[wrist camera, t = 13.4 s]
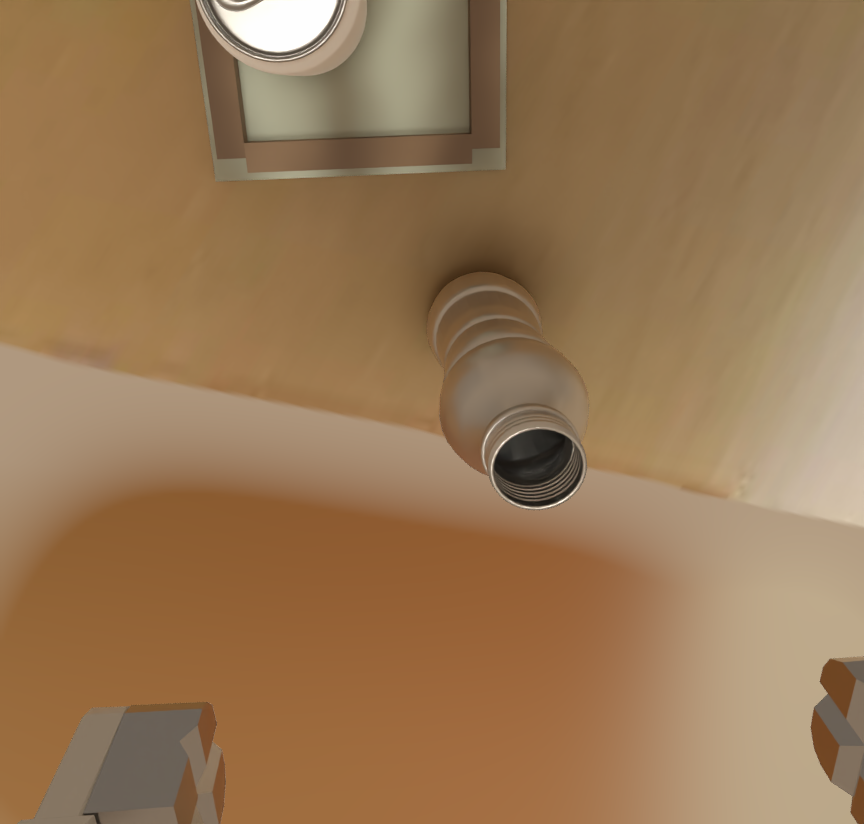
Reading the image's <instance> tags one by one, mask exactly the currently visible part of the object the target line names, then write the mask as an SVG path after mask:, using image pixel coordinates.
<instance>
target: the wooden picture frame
mask: <svg viewBox="0 0 864 824" xmlns="http://www.w3.org/2000/svg"><path fill="white" fill-rule="evenodd" d="M190 5H191V12H192V19H193V26H194V33H195V40H196V47H197V54H198V61H199V68H200V75H201V82H202V89H203V96H204V103H205V110H206V117H207V124H208V131H209V138H210V145H211V151H212V158H213V165H214V172H215V179H216V181H240V180H264V179H288V178H312V177H336V176H360V175H384V174H407V173H431V172H455V171H479V170H503V169H506V36H507V0H367V17H366V23H365V28H364V31H363V34H362V37H361V39H360V41H359V43H358V45H357V47H356V48H355V50H354V51H353V53H352V54H351V55H350V56H349V57H348V58H347V59H346V60H345V61H344V62H343V63H342V64H341V65H339V66H338V67H336V68H334V69H332V70H330V71H328V72H325V73H322V74H318V75H312V76H289V75H278V74H271V73H267V72H263V71H260V70H257V69H255V68H252V67H250V66H248V65H246V64H244V63H243V62H241V61H239V60H238V59H236V58H235V57H234V56H233V55H231V54H230V53H229V52H228V51H227V50H226V49H225V48H224V47H223V46H222V45H221V44H220V43H219V42H218V41H217V40H216V38H215V37H214V36H213V34H212V33H211V32H210V30H209V29H208V27H207V25H206V23H205V22H204V20H203V18H202V15H201V13H200V11H199V8H198V5H197V2H196V0H190Z"/></svg>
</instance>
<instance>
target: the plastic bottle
mask: <svg viewBox="0 0 864 824" xmlns="http://www.w3.org/2000/svg"><path fill="white" fill-rule="evenodd" d="M542 333H543V331H542V323H541V317H540V313H539V310H538V307H537V304H536V303H535V301H534V299H533V298H532V296H531V295H530V294H529V293H528V292H527V291H526V289H525V288H524V287H522V286H521V285H519V284H518V283H517V282H515V281H513V280H511V279H509V278H507V277H504V276H502V275H500V274H496V273H491V272H474V273H468V274H466V275H463V276H460V277H458V278H456V279H454V280H453V281H451V282H450V283H448V284H447V285H446V286H445V287H444V288H443V289H442V290H441V291H440V293H439V294H438V295H437V297H436V298H435V300H434V302H433V304H432V307H431V309H430V311H429V315H428V319H427V337H428V342H429V345H430V347H431V349H432V352H433V354H434V355H435V357H436V359H437V360H438V362H439V363H440V365H441V366H442V367H443V368H444V381H443V386H442V390H441V394H440V415H439V417H440V422H441V427H442V431H443V433H444V435H445V438H446V440H447V442H448V443H449V444H450V446H451V447H452V449H453V450H454V451H455V453H456V454H457V455H458V456H459V457H460V458H461V459H463V460H464V461H465V462H466V463H467V464H468V465H469V466H470V467H472V468H473V469H475V470H477V471H478V472H480V473H482V474H485V475H487V476H489V478H490V481H491V483H492V486H493V487H494V489H495V490H496V491H497V493H498V494H499V495H500V496H501V497H502V498H503V499H504V500H505V501H507V502H508V503H510V504H512V505H514V506H516V507H519V508H522V509H528V510H543V509H549V508H552V507H555V506H558V505H560V504H561V503H564V502H565V501H567V500H568V499H569V498H571V497H572V496H573V495H574V494H575V493H576V492H577V491H578V490H579V488H580V486H581V485H582V483H583V481H584V478H585V475H586V470H587V461H586V454H585V451H584V449H583V446H582V445H581V442H582V440H583V438H584V435H585V432H586V429H587V423H588V414H589V398H588V392H587V389H586V386H585V383H584V380H583V379H582V377H581V376H580V374H579V372H578V371H577V369H576V368H575V367H574V366H573V365H572V364H571V362H570V361H569V360H568V359H567V358H566V357H565V356H564V355H563V354H562V353H560V352H559V351H558V350H556V349H555V348H554V347H553V346H551V345H550V344H549V343H547V341H546V340H545V339H544V338H543V336H542Z"/></svg>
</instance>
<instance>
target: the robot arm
mask: <svg viewBox="0 0 864 824" xmlns="http://www.w3.org/2000/svg"><path fill="white" fill-rule="evenodd" d="M820 683H821V684H822V686H823V687H824V689H825V690H826V691H827V693H828V694H827V695H826V696H825V697H824V698H823V699H822V700H821V701H820V702H819V703H818V704H817V705H816V706H815V707H814V710H813V716H812V722H811V732H812V739H813V745H814V749H815V752H816V754H817V757H818V759H819V762H820V764H821V766H822V768H823V769H824V771H825V773H826V774H827V776H828V778H829V779H830V781H831V782H832V783H833V784H835V785H837V786H838V787H839V788H841V789H843V790H844V791H845V792H847V793H848V794H850V795H851V796H852V804H851V814H852V816H853V817H854V818H855V820H856V822H857V823H858V824H864V656H858V657H846V658H833V659H829V661H828V662H827V663H826V664H825V665H824V667H823V670H822V674H821V678H820ZM216 726H217V722H216V718H215V714H214V710H213V706H212V704H210V703H208V702H197V703H173V704H151V705H132V706H128V707H101V708H91V709H90V710H89V711H88V712H87V713H86V714H85V715H84V716H83V717H82V719H81V721H80V723H79V725H78V727H77V729H76V732H75V734H74V736H73V738H72V740H71V742H70V744H69V746H68V748H67V751H66V752H65V755H64V757H63V759H62V761H61V763H60V765H59V767H58V769H57V771H56V774H55V775H54V778H53V780H52V782H51V784H50V786H49V788H48V790H47V793H46V794H45V797H44V798H43V800H42V803H41V805H40V807H39V809H38V811H37V813H36V815H35V817H34V819H30V820H21V821H20V822H18V823H17V824H220V823H221V818H222V813H223V808H224V798H225V785H226V779H225V763H224V758H223V752H222V749H221V748H219V747H218V746H217V745H216V744H215V743H213V742H212V741H213V737H214V733H215V729H216Z"/></svg>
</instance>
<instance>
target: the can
mask: <svg viewBox="0 0 864 824" xmlns="http://www.w3.org/2000/svg"><path fill="white" fill-rule="evenodd" d="M196 2H197V5H198V8H199V11H200V13H201V15H202V18H203V20H204V22H205V23H206V25H207V27H208V29H209V30H210V32H211V33H212V34H213V36H214V37H215V38H216V40H217V41H218V42H219V43H220V44H221V45H222V46H223V47H224V48H225V49H226V50H227V51H228V52H229V53H230V54H231V55H233V56H234V57H235V58H236V59H238V60H239V61H241V62H243V63H244V64H246V65H248V66H250V67H252V68H255V69H257V70H260V71H263V72H267V73H271V74H278V75H289V76H312V75H318V74H322V73H325V72H328V71H330V70H332V69H334V68H336V67H338V66H339V65H341V64H342V63H343V62H344V61H345V60H346V59H347V58H348V57H349V56H350V55H351V54H352V53H353V51H354V50H355V48H356V47H357V45H358V43H359V41H360V39H361V37H362V34H363V31H364V28H365V23H366V17H367V0H196Z"/></svg>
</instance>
